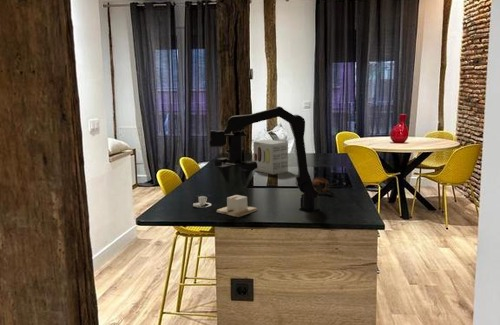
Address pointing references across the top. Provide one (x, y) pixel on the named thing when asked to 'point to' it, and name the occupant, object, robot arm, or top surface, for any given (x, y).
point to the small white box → (237, 203)
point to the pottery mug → (320, 185)
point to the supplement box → (271, 156)
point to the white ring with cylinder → (201, 202)
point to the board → (236, 213)
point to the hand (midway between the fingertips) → (235, 184)
